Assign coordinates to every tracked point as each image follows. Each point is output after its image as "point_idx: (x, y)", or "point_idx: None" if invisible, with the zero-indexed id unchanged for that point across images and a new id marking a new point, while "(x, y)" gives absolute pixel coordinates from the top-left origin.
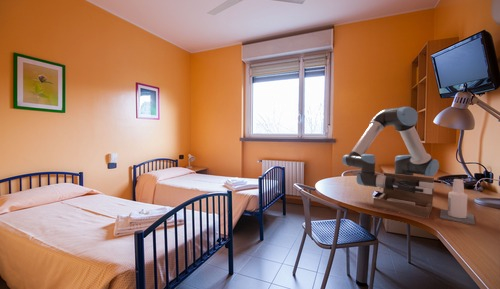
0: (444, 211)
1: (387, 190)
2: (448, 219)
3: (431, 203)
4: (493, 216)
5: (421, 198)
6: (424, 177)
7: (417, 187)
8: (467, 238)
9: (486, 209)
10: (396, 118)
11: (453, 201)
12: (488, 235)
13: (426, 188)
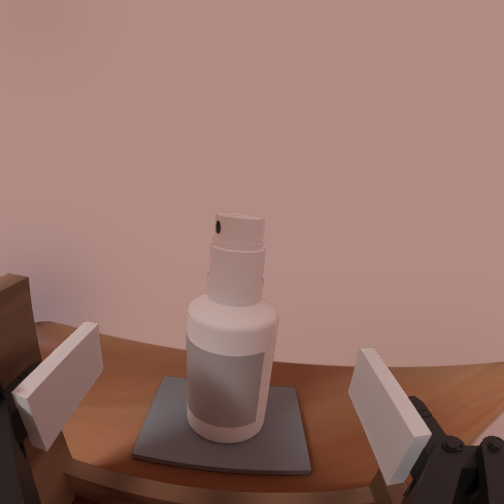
0: (179, 450)
1: None
2: (305, 446)
3: (131, 476)
4: (137, 344)
5: (42, 501)
6: None
7: (421, 425)
8: (441, 396)
9: (62, 336)
10: None
11: (271, 360)
12: None
13: (388, 371)
